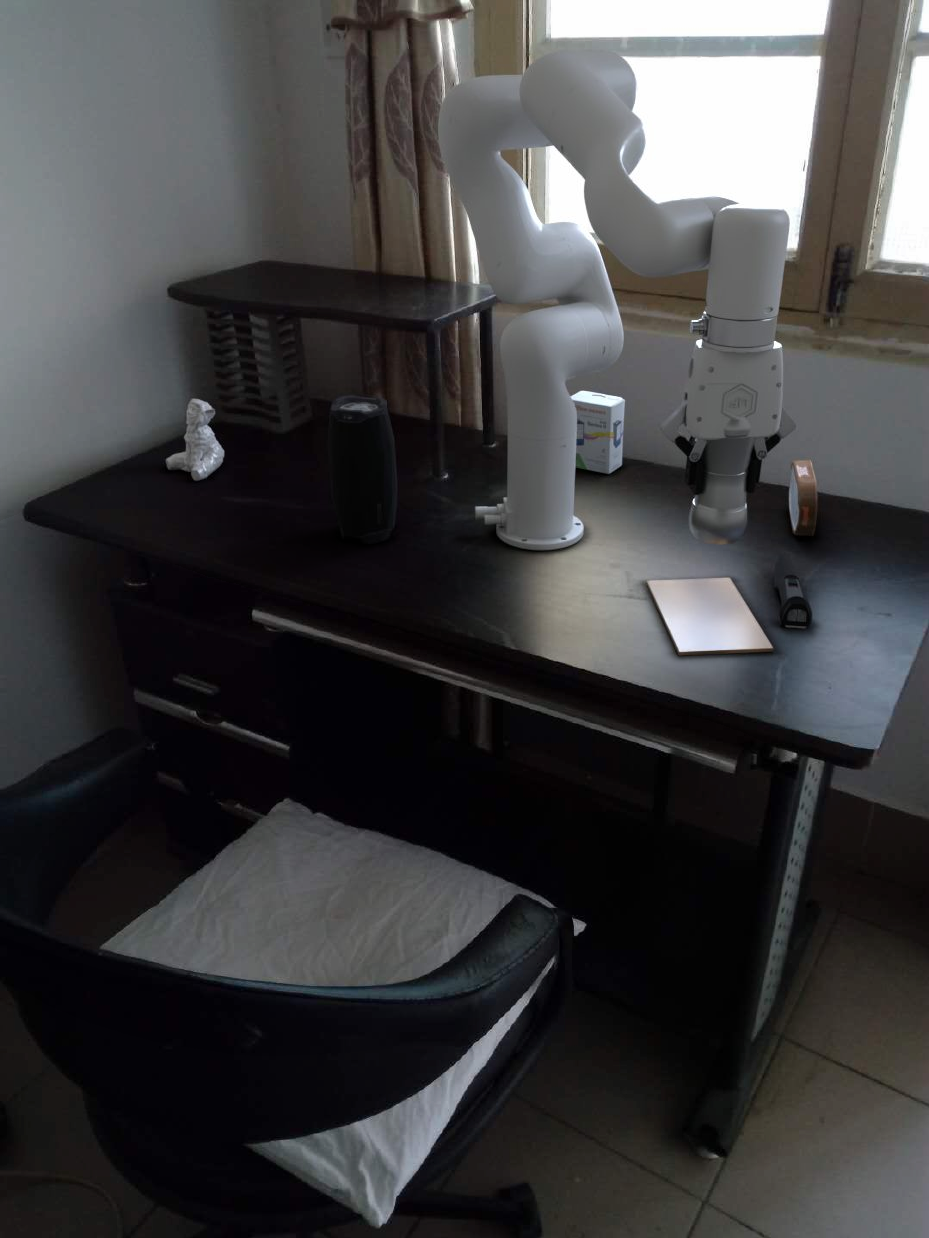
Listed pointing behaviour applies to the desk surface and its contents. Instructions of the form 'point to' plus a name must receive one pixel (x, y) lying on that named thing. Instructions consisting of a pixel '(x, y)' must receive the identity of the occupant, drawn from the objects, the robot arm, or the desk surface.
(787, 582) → the electric trimmer
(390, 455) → the portable speaker
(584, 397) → the ink box
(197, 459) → the sitting furry creature
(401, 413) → the desk surface
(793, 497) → the tin
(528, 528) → the robot arm
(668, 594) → the wooden board
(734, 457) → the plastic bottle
